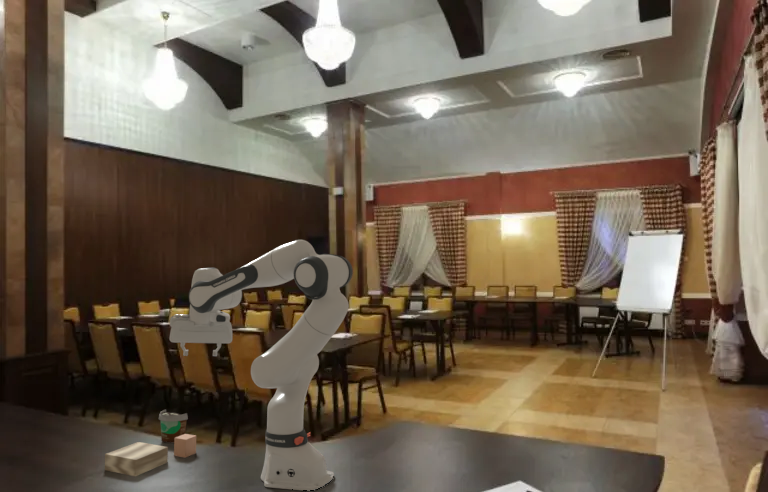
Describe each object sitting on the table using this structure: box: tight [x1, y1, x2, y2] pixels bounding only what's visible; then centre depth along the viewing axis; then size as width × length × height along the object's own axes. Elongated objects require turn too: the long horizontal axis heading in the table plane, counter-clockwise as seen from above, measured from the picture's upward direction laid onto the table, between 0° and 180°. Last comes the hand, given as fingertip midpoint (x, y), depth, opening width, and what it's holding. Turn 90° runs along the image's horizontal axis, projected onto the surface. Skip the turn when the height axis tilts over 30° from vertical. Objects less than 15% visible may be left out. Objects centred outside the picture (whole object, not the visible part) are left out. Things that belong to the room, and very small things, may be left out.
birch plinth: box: [104, 441, 169, 477], centre depth 172 cm, size 13×13×5 cm
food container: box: [158, 409, 189, 443], centre depth 198 cm, size 12×6×10 cm, turn 62°
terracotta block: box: [173, 433, 197, 458], centre depth 184 cm, size 5×5×6 cm
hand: (200, 355), depth 181 cm, fingers open, 8 cm apart
